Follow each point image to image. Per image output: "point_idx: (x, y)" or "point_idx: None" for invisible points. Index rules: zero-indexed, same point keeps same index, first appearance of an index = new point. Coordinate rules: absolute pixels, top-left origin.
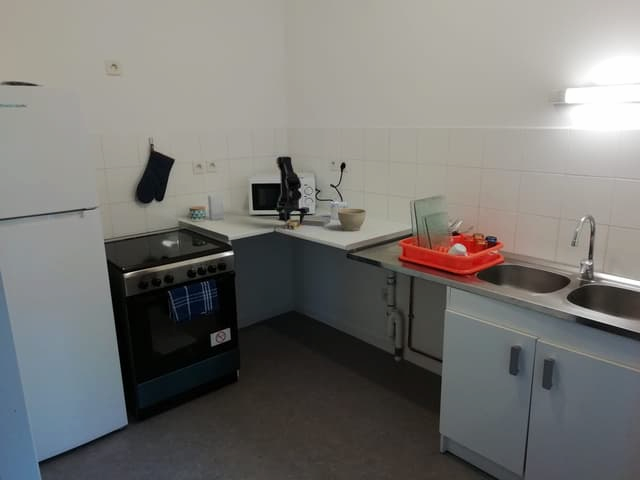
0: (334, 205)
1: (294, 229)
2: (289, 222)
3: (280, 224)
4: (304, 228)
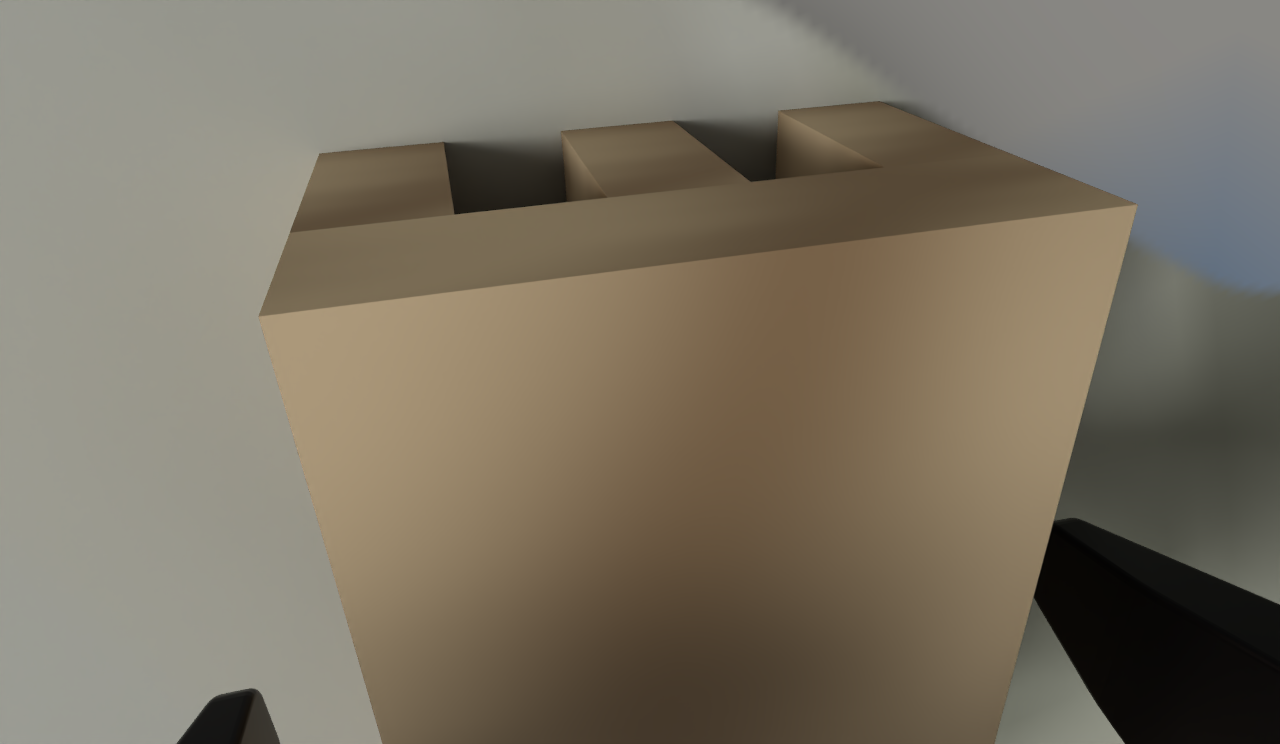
0: None
1: (339, 158)
2: (825, 375)
3: None
4: (49, 607)
